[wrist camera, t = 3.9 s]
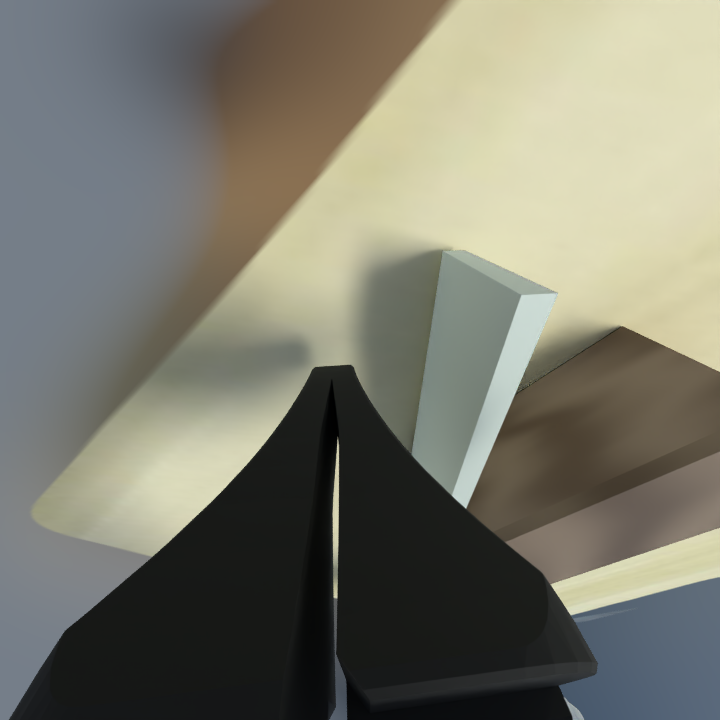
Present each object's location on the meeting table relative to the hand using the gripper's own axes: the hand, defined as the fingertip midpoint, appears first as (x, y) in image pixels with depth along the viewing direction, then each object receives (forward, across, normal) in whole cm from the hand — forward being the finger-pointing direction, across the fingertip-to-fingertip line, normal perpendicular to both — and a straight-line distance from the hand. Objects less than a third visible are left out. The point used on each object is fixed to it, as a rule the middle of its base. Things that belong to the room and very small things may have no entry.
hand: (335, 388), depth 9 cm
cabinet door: (+2, -5, +2) cm, 6 cm away
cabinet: (+3, -12, +7) cm, 14 cm away
